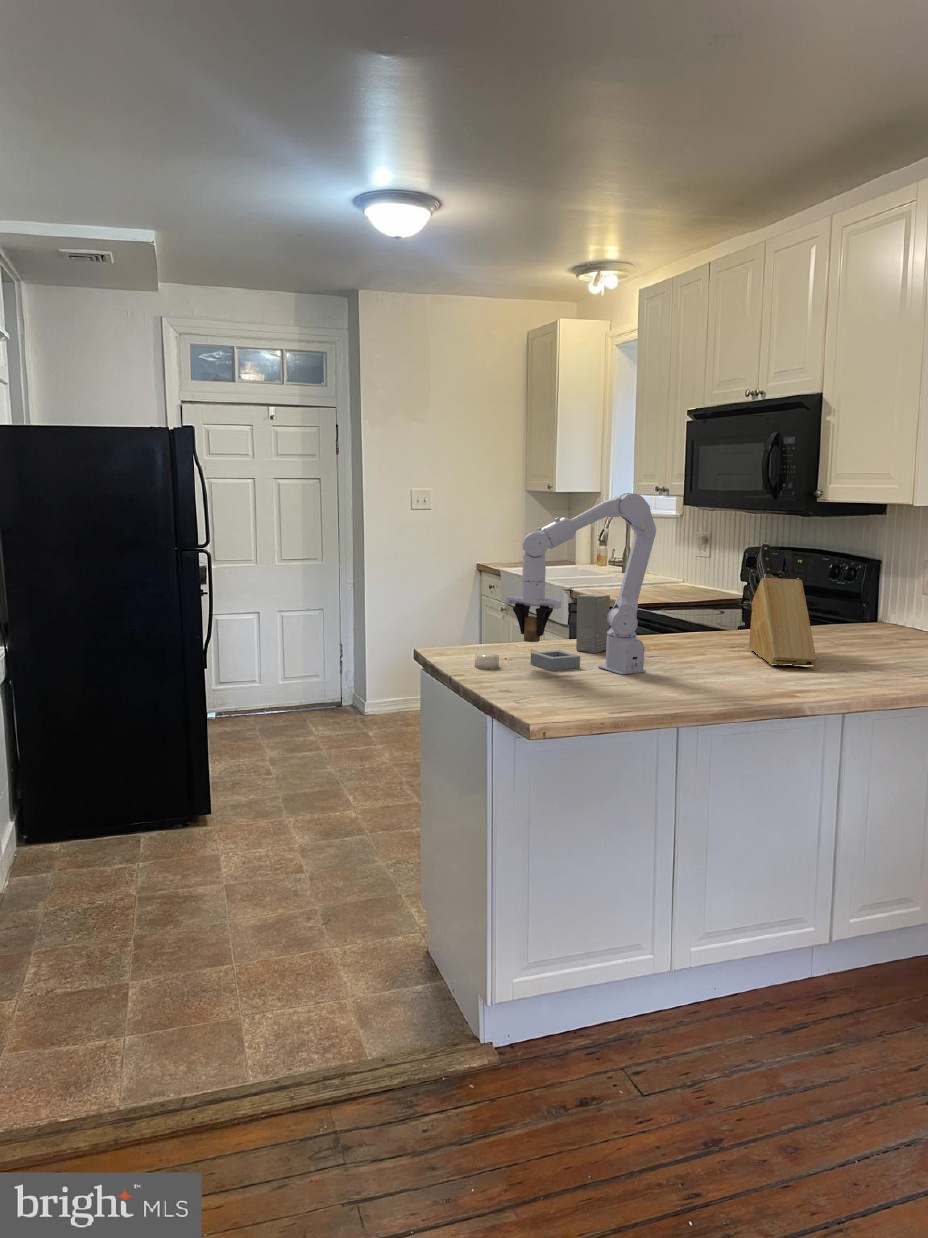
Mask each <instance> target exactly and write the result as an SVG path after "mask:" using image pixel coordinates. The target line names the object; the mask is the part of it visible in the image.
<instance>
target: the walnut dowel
mask: <svg viewBox="0 0 928 1238" xmlns="http://www.w3.org/2000/svg"><path fill="white" fill-rule="evenodd" d="M540 638H541V636H537V615H536V616H535V615H528V616H525V617H524V634H523V641H524V642H527V643H538V642H540V641H541V639H540Z"/></svg>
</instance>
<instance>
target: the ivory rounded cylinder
mask: <svg viewBox="0 0 928 1238" xmlns="http://www.w3.org/2000/svg"><path fill="white" fill-rule="evenodd" d="M499 663H500V654H497V653H490V652H478V653H475V654H474V667H475V668H476V669H482V670H495V669H498V668H499Z"/></svg>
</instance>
